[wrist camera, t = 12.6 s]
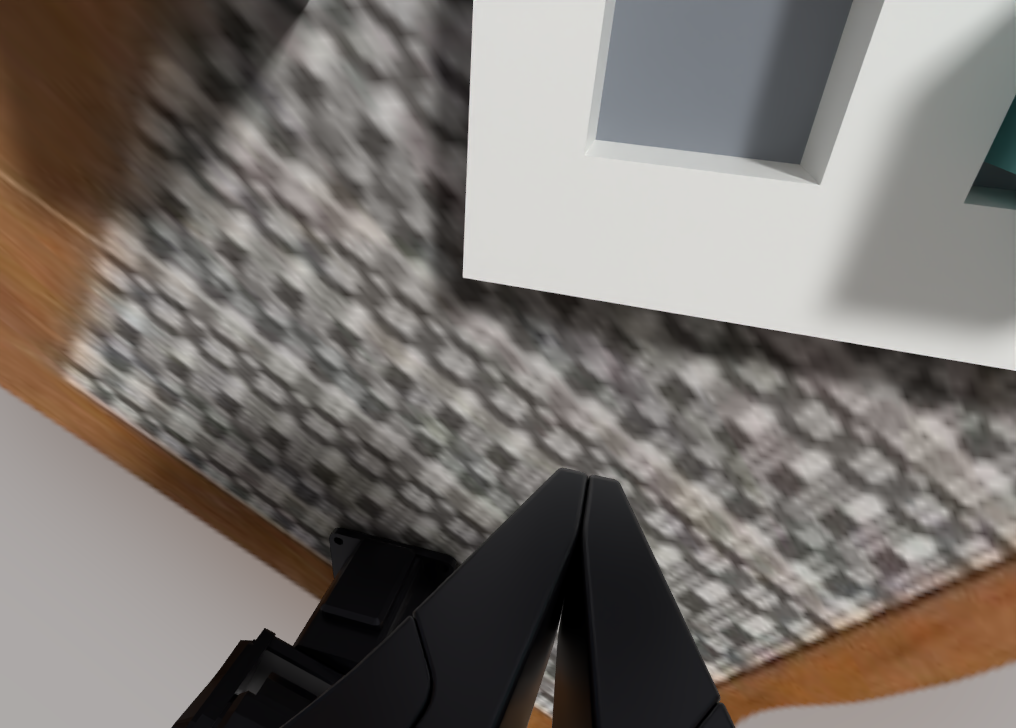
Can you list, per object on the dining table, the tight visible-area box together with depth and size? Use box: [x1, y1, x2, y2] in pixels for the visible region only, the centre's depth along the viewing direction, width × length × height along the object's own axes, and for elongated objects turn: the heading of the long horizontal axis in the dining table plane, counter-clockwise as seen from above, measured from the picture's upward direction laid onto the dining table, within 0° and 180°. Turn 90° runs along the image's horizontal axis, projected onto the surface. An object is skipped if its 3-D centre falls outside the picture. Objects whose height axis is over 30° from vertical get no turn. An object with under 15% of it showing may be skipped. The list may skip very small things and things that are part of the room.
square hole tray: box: [463, 0, 1016, 371], centre depth 13 cm, size 14×20×4 cm
